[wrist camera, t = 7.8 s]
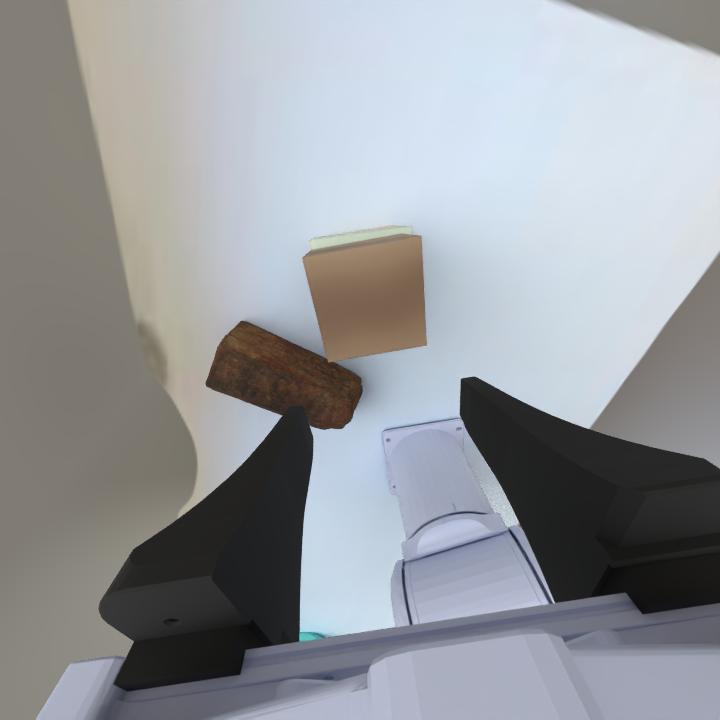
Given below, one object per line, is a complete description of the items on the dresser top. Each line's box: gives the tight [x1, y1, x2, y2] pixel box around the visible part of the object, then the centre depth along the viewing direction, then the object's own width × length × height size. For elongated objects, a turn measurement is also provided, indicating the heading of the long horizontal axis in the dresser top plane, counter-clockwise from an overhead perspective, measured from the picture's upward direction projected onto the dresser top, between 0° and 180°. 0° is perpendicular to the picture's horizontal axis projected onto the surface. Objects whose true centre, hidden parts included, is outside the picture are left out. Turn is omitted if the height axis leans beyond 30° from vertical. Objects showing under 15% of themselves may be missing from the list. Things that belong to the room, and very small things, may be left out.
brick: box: [206, 321, 363, 430], centre depth 21 cm, size 11×4×5 cm, turn 60°
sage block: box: [309, 226, 412, 250], centre depth 15 cm, size 5×5×3 cm
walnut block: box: [302, 233, 427, 362], centre depth 12 cm, size 4×4×4 cm
